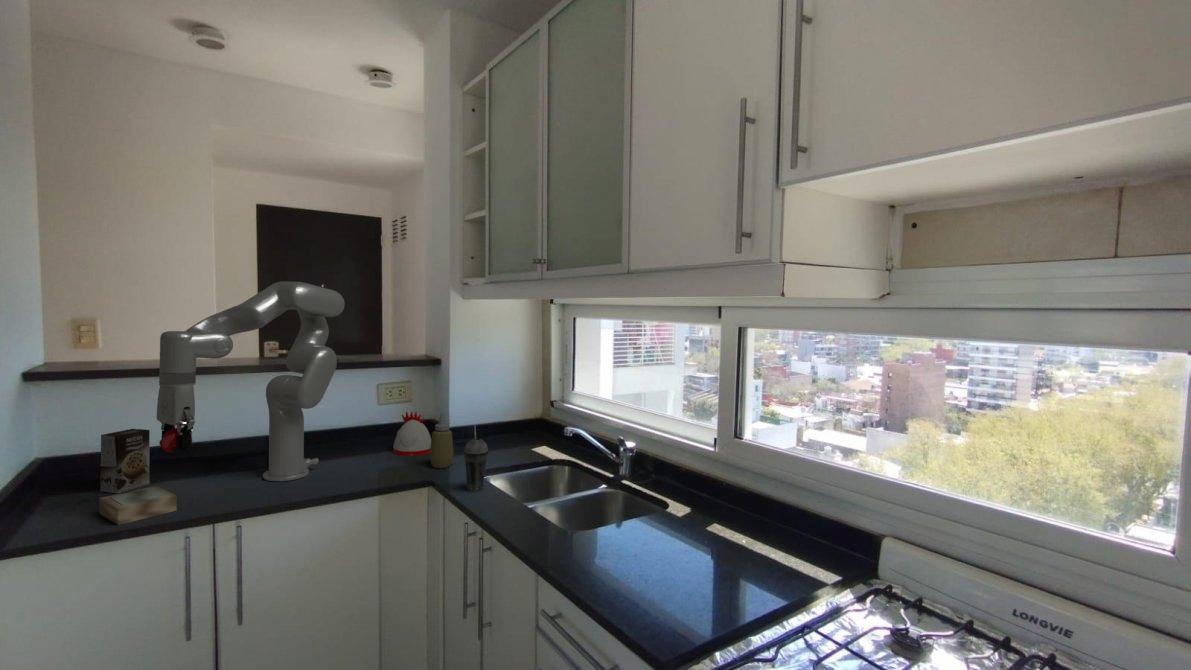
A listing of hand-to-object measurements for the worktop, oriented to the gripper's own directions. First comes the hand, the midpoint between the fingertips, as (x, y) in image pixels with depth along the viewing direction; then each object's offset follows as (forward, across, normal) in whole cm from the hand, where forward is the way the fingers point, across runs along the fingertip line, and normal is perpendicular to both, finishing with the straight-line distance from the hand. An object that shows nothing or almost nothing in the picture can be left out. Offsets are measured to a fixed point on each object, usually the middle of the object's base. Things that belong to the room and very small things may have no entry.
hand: (176, 446), depth 143 cm
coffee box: (+16, -29, 0) cm, 33 cm away
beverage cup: (+15, +51, +57) cm, 78 cm away
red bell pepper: (+1, 0, 0) cm, 1 cm away
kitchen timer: (+15, +3, +76) cm, 77 cm away
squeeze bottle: (+15, +26, +68) cm, 74 cm away
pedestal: (+16, -5, -6) cm, 18 cm away
